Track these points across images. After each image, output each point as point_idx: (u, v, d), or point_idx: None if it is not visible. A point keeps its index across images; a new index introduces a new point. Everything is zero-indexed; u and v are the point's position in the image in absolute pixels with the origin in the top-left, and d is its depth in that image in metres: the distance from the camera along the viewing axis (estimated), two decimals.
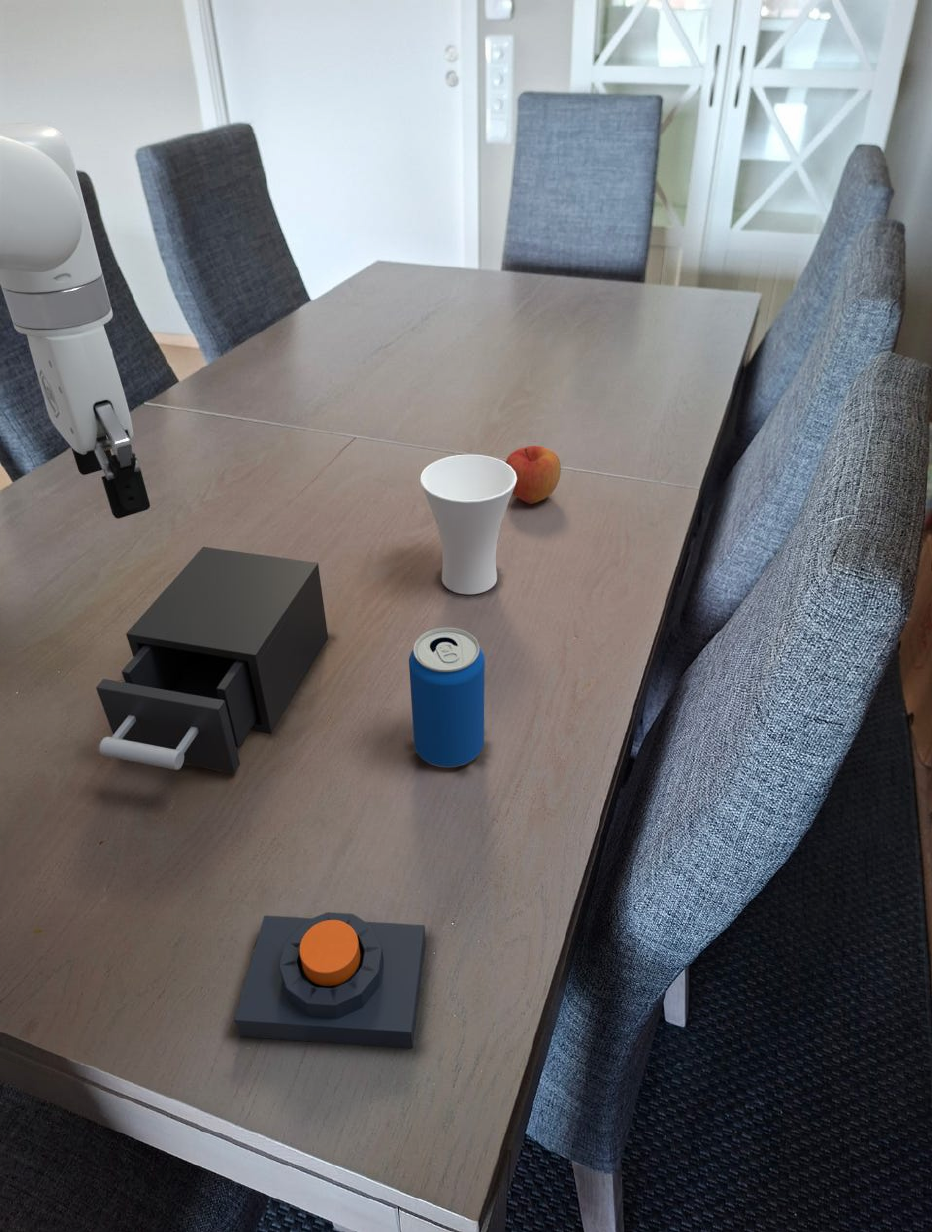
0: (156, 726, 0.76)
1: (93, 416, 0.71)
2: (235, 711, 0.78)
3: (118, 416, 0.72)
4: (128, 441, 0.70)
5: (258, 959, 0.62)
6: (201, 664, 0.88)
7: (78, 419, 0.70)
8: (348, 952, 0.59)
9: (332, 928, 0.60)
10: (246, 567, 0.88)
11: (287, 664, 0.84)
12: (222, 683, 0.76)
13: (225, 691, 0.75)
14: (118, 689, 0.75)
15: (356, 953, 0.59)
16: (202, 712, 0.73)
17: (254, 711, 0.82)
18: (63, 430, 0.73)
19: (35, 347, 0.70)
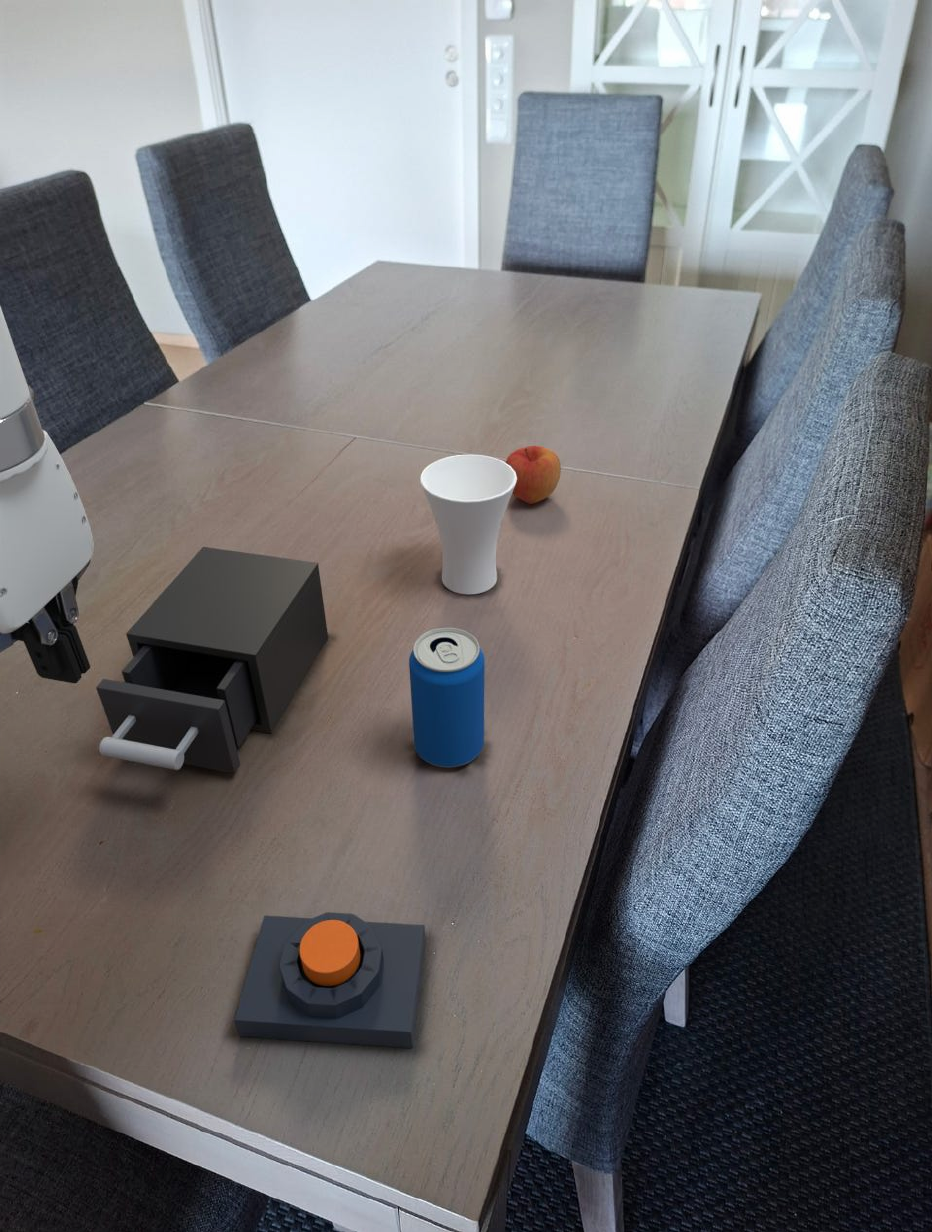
0: (156, 726, 0.76)
1: None
2: (235, 711, 0.78)
3: None
4: None
5: (258, 959, 0.62)
6: (201, 664, 0.88)
7: None
8: (348, 952, 0.59)
9: (332, 928, 0.60)
10: (246, 567, 0.88)
11: (287, 664, 0.84)
12: (222, 683, 0.76)
13: (225, 691, 0.75)
14: (118, 689, 0.75)
15: (356, 953, 0.59)
16: (202, 712, 0.73)
17: (254, 711, 0.82)
18: None
19: None
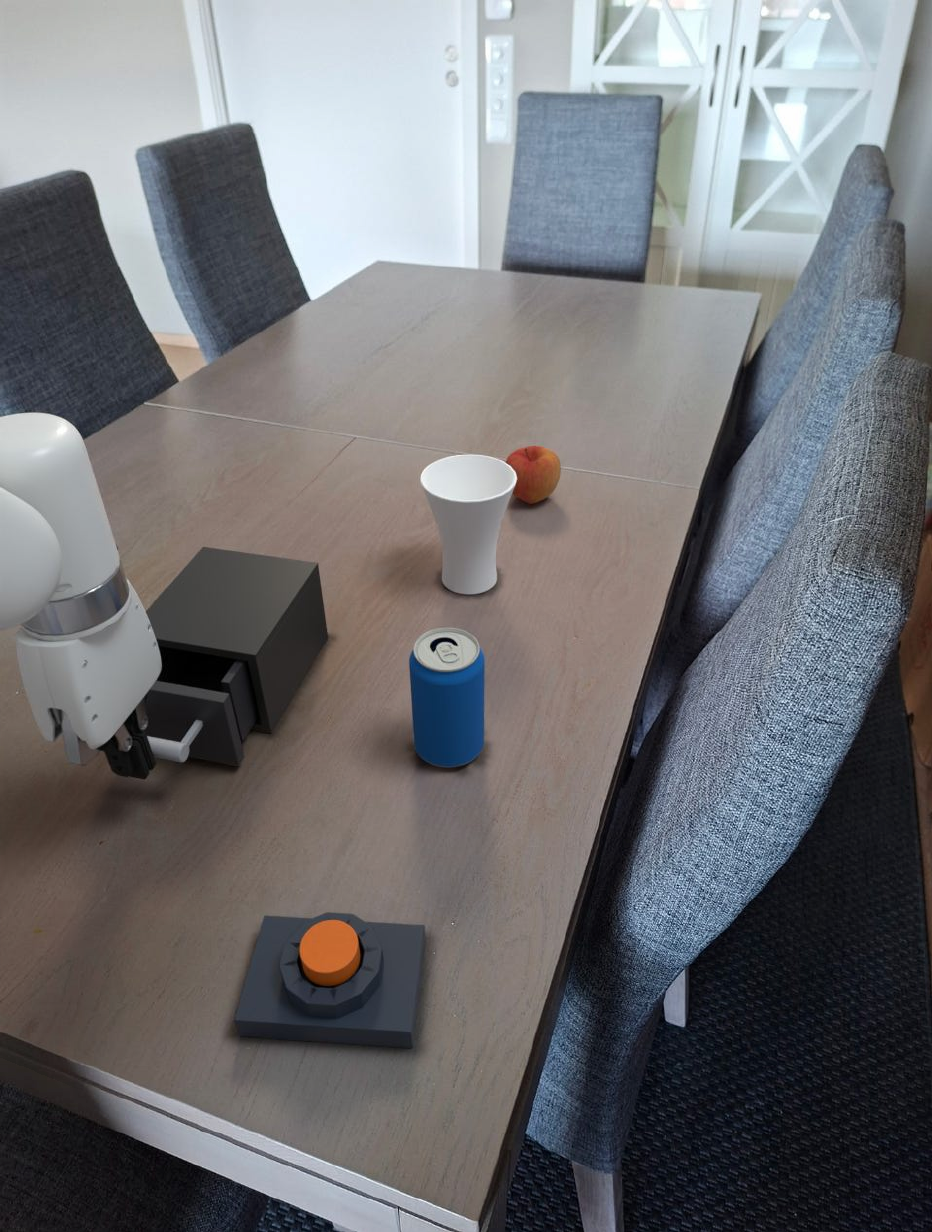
0: (161, 719, 0.77)
1: (48, 717, 0.62)
2: (239, 705, 0.78)
3: None
4: (80, 765, 0.64)
5: (258, 959, 0.62)
6: (205, 659, 0.88)
7: (34, 713, 0.62)
8: (348, 952, 0.59)
9: (332, 928, 0.60)
10: (246, 567, 0.88)
11: (287, 664, 0.84)
12: (226, 677, 0.76)
13: (230, 684, 0.76)
14: None
15: (356, 953, 0.59)
16: (206, 705, 0.74)
17: None
18: None
19: None
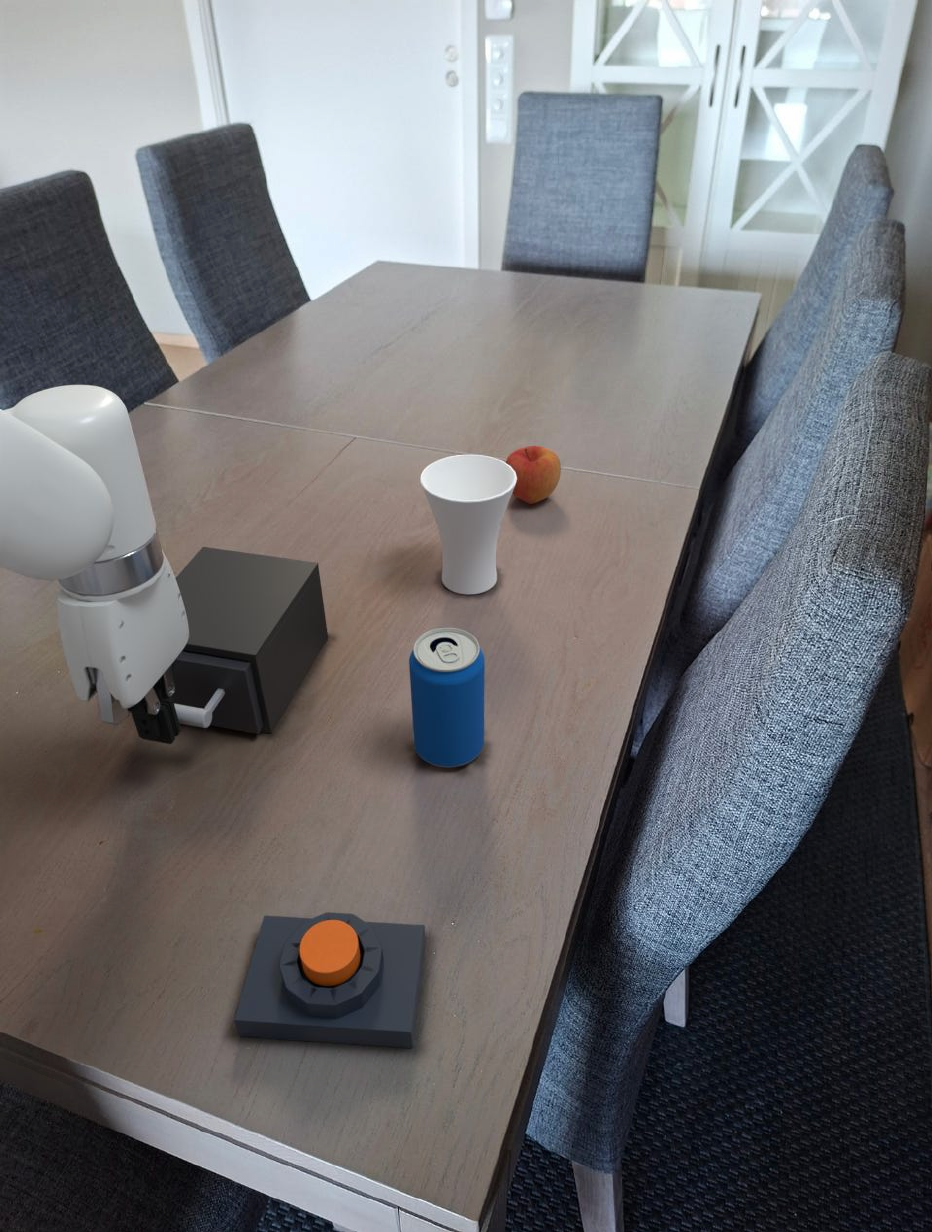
0: (184, 688, 0.80)
1: (84, 676, 0.65)
2: None
3: None
4: (113, 724, 0.67)
5: (258, 959, 0.62)
6: None
7: (71, 672, 0.66)
8: (348, 952, 0.59)
9: (332, 928, 0.60)
10: (246, 567, 0.88)
11: (287, 664, 0.84)
12: None
13: None
14: None
15: (356, 953, 0.59)
16: (229, 674, 0.77)
17: None
18: None
19: None
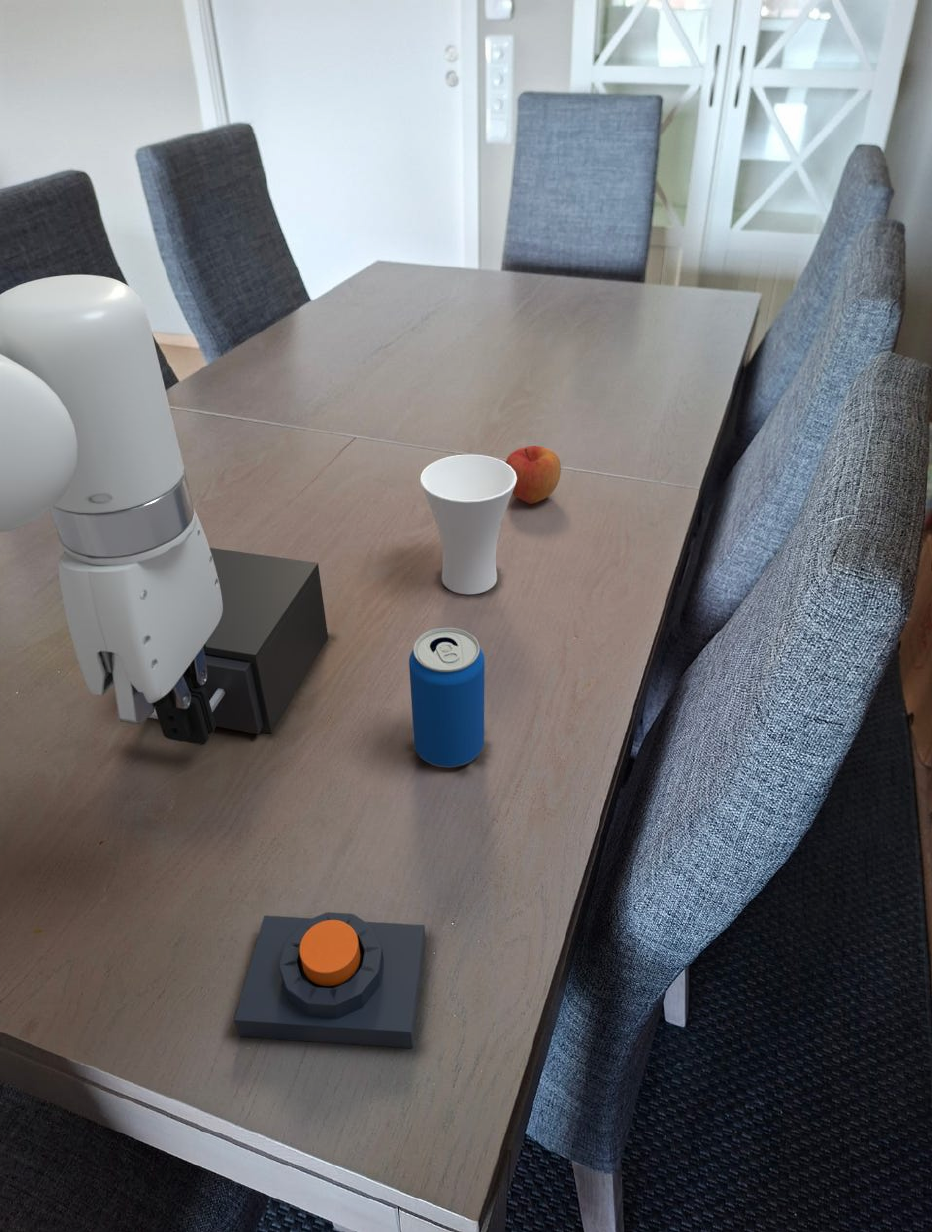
0: None
1: (97, 664, 0.51)
2: None
3: None
4: (135, 723, 0.53)
5: (258, 959, 0.62)
6: None
7: (80, 659, 0.51)
8: (348, 952, 0.59)
9: (332, 928, 0.60)
10: (246, 567, 0.88)
11: (287, 664, 0.84)
12: None
13: None
14: None
15: (356, 953, 0.59)
16: (229, 674, 0.77)
17: None
18: None
19: None
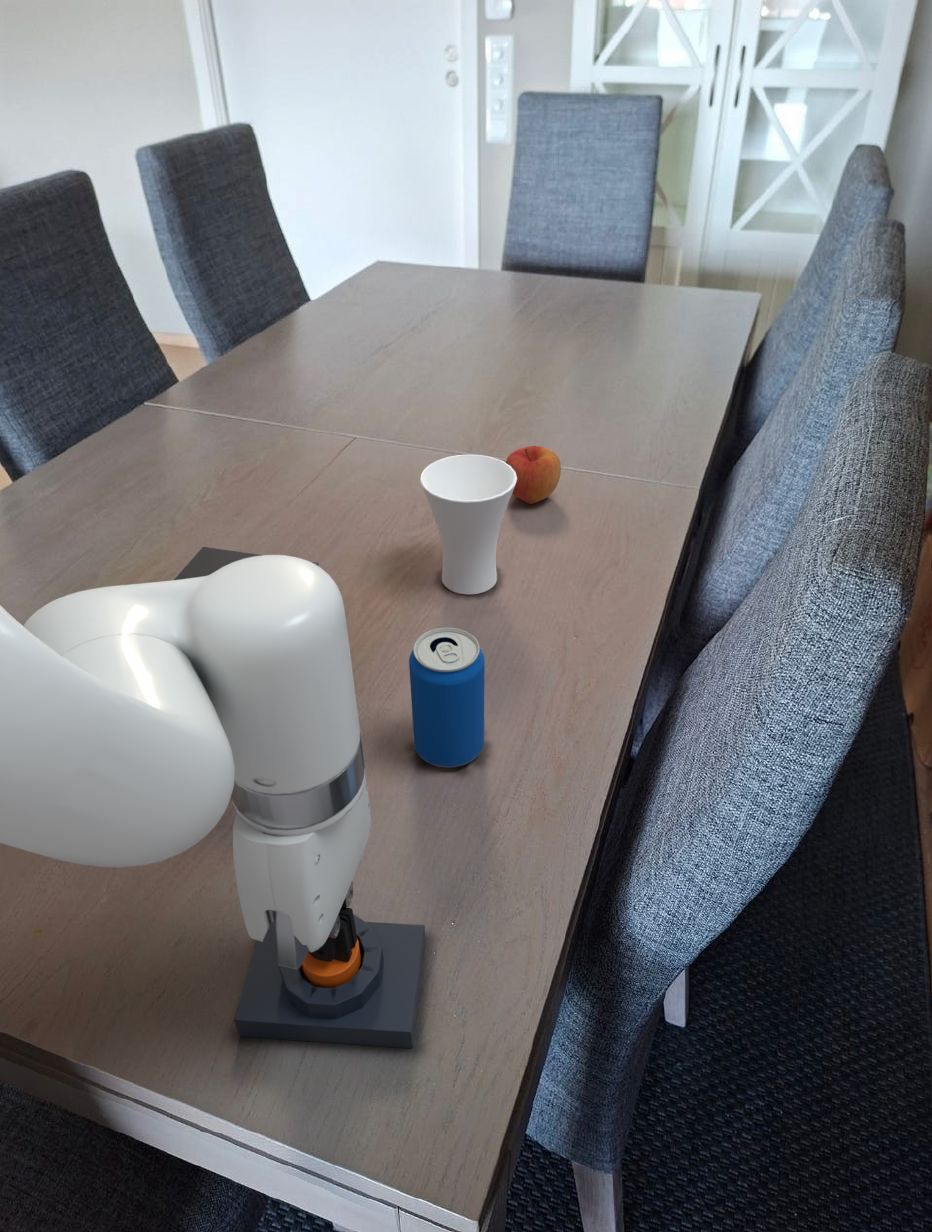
0: None
1: (263, 919, 0.49)
2: None
3: None
4: (295, 969, 0.52)
5: (258, 959, 0.62)
6: None
7: (245, 912, 0.50)
8: None
9: None
10: None
11: None
12: None
13: None
14: None
15: (357, 956, 0.59)
16: None
17: None
18: None
19: None
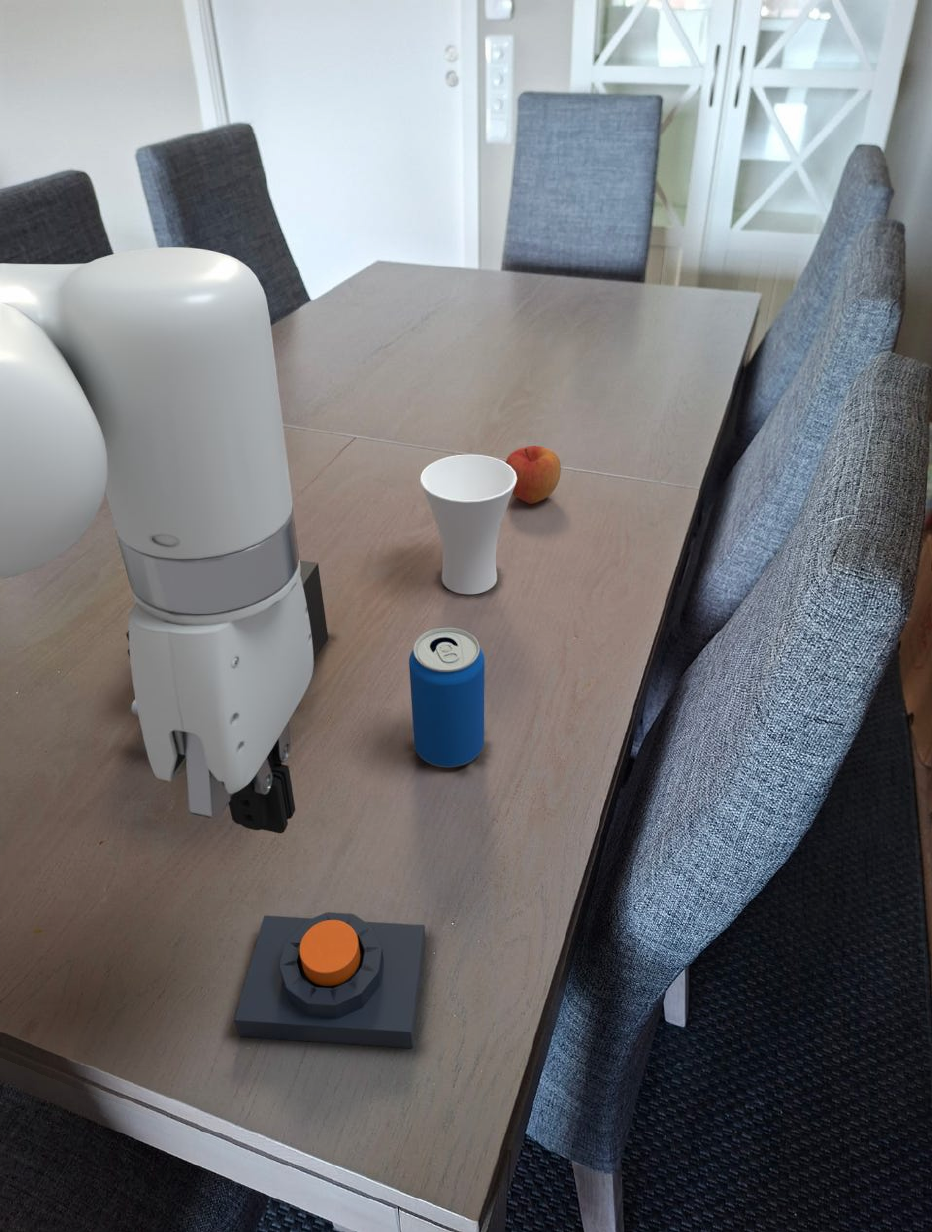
0: None
1: (169, 745, 0.40)
2: None
3: None
4: (209, 817, 0.42)
5: (258, 959, 0.62)
6: None
7: (147, 737, 0.40)
8: (348, 952, 0.59)
9: (332, 928, 0.60)
10: None
11: None
12: None
13: None
14: None
15: (356, 953, 0.59)
16: None
17: None
18: None
19: None
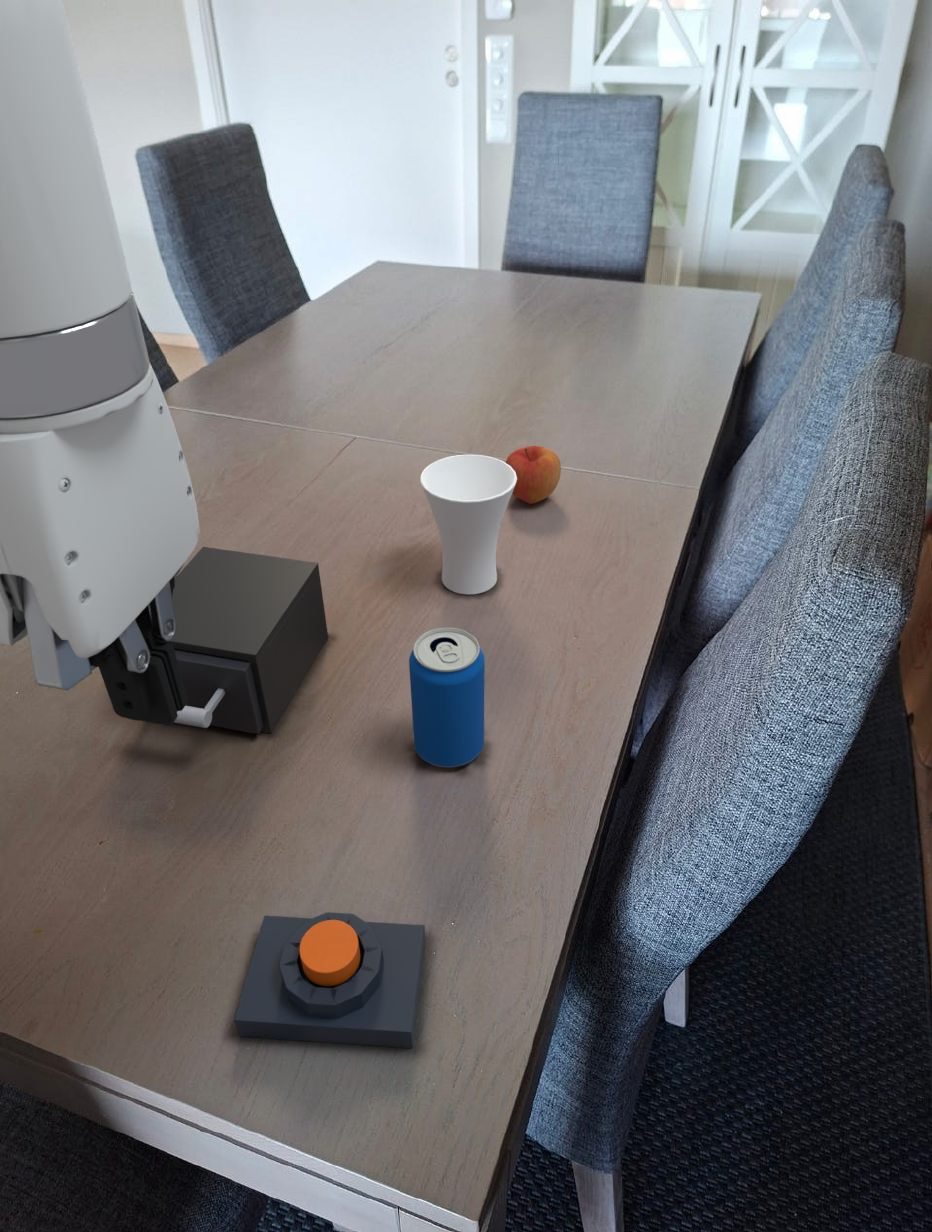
0: None
1: None
2: None
3: None
4: (60, 688, 0.36)
5: (258, 959, 0.62)
6: None
7: None
8: (348, 952, 0.59)
9: (332, 928, 0.60)
10: (246, 567, 0.88)
11: (287, 664, 0.84)
12: None
13: None
14: None
15: (356, 953, 0.59)
16: (229, 674, 0.77)
17: None
18: None
19: None
